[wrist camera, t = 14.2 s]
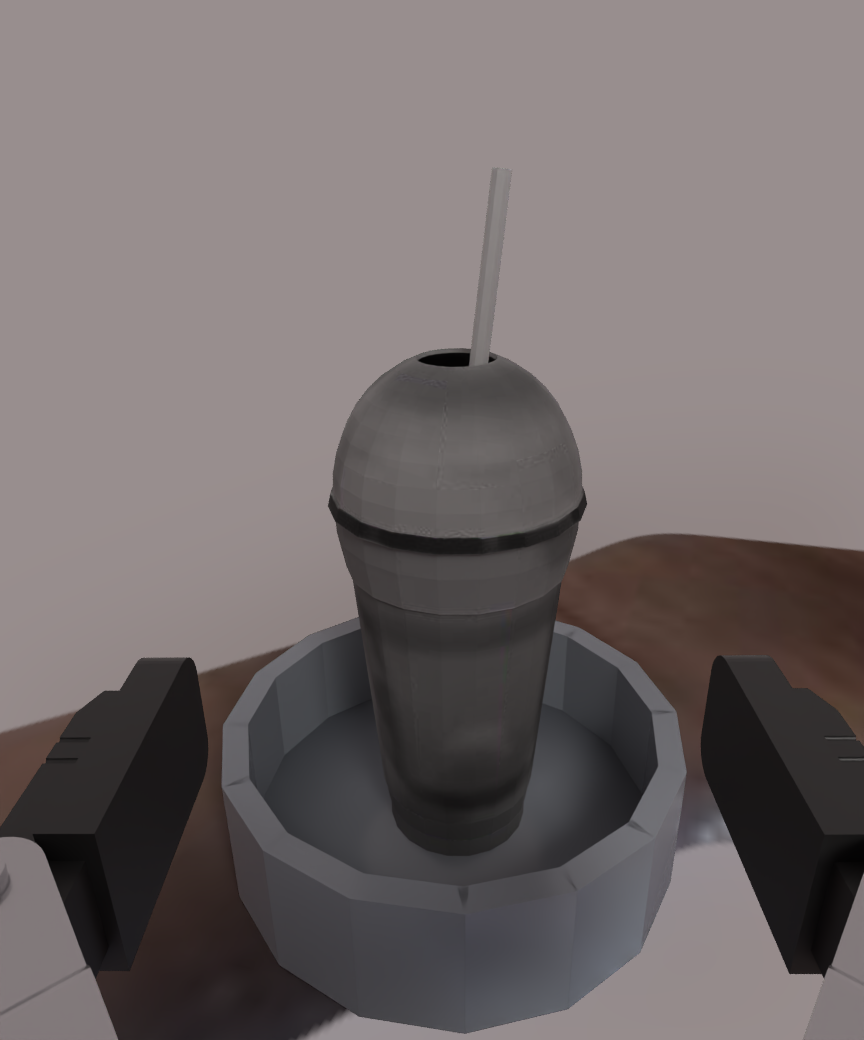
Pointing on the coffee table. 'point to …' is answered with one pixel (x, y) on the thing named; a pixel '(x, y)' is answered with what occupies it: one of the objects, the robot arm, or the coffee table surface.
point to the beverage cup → (458, 569)
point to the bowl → (451, 879)
